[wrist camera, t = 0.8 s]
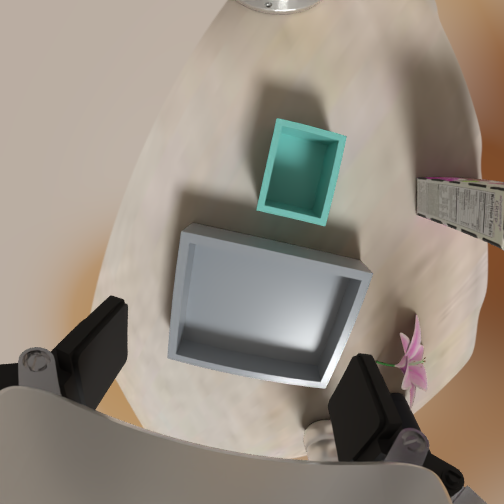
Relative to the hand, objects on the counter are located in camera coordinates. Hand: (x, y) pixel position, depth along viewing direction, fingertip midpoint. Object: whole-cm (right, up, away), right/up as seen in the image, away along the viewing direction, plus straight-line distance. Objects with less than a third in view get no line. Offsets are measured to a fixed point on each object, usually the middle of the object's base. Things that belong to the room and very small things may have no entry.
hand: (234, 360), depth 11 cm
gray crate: (+2, -2, +24) cm, 24 cm away
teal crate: (+5, +13, +19) cm, 24 cm away
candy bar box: (+26, +12, +19) cm, 34 cm away
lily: (+22, -9, +25) cm, 35 cm away
